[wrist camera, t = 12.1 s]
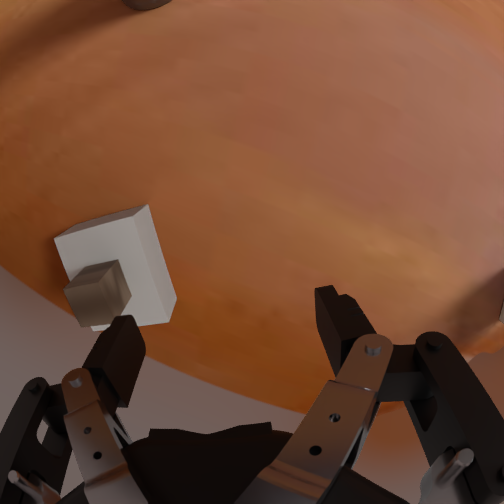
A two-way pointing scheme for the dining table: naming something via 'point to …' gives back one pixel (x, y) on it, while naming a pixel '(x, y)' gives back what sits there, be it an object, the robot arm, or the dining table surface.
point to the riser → (124, 260)
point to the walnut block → (98, 293)
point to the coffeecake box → (502, 314)
